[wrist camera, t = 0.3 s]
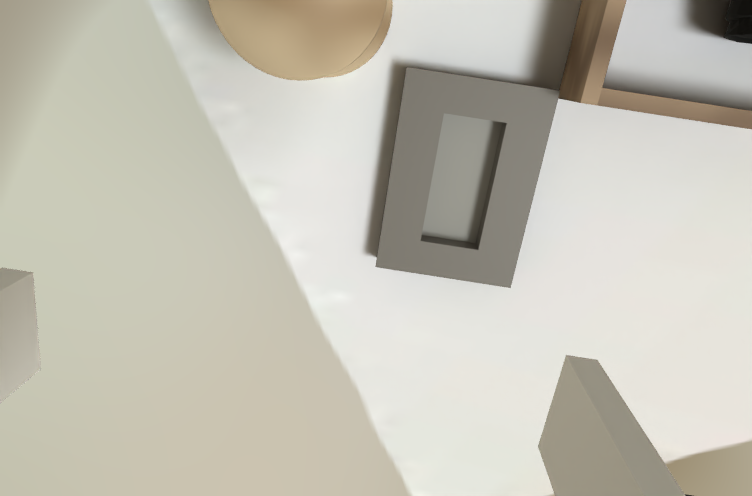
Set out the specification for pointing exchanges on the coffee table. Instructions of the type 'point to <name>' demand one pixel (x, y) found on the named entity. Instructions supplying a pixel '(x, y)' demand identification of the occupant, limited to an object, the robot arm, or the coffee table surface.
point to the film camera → (739, 21)
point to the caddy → (591, 63)
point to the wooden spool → (304, 34)
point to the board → (463, 175)
